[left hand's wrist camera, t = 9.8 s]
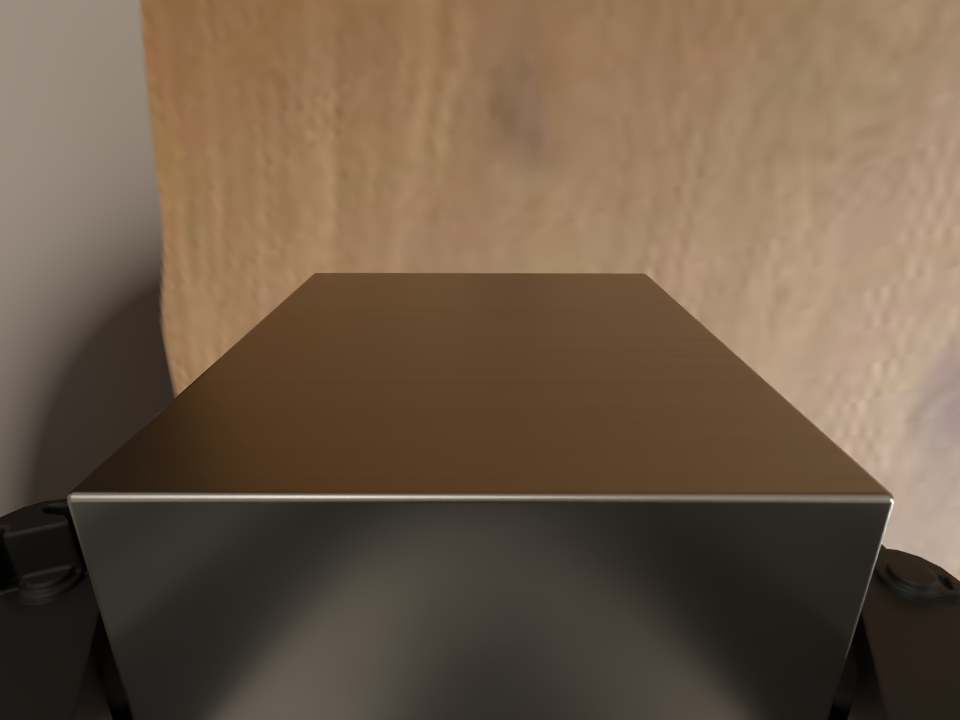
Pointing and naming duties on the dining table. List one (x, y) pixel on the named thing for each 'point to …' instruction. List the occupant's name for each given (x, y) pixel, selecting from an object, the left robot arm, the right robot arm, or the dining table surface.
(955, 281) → the dining table surface
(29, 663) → the left robot arm
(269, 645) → the box
